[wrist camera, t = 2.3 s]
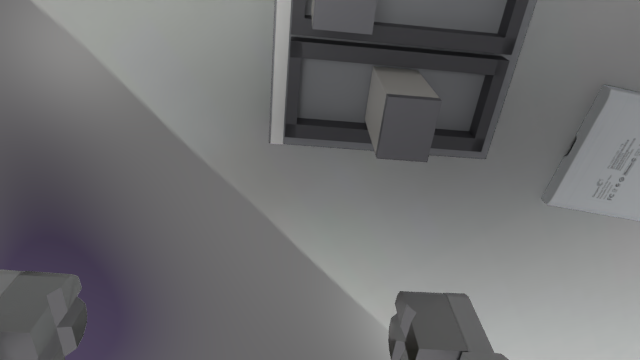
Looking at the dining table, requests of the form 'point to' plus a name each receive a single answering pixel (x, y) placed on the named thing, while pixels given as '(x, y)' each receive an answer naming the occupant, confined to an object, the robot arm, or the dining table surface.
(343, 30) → the block
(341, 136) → the panel
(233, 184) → the dining table surface
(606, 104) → the external hard drive
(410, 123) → the block
